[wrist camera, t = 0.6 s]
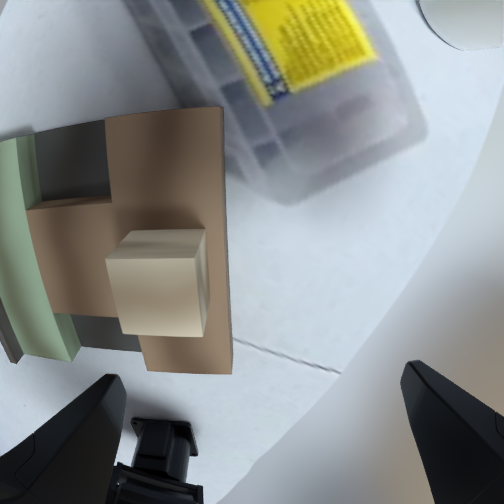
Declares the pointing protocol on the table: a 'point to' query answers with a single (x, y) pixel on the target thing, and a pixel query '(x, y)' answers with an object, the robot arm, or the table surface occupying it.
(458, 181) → the table surface
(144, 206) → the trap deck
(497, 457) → the robot arm
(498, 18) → the can
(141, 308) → the maple block
